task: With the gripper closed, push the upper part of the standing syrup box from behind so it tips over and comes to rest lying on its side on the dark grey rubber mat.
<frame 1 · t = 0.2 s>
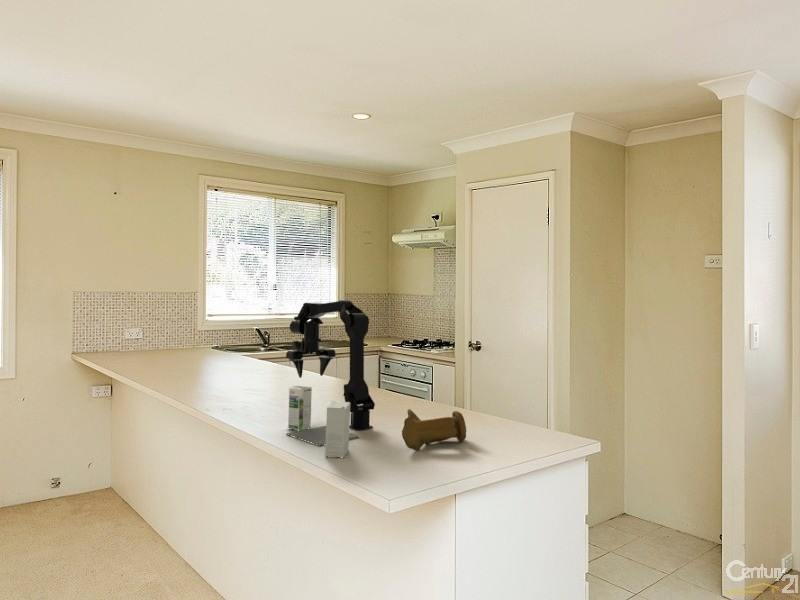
hand: (310, 376, 224), 14 cm above the counter, tool pointing down, fingers open, 9 cm apart
skincare box: (337, 455, 172), on the counter
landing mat: (322, 436, 192), on the counter
brown flanged cylinder: (431, 446, 185), on the counter
syrup box: (299, 429, 201), on the counter
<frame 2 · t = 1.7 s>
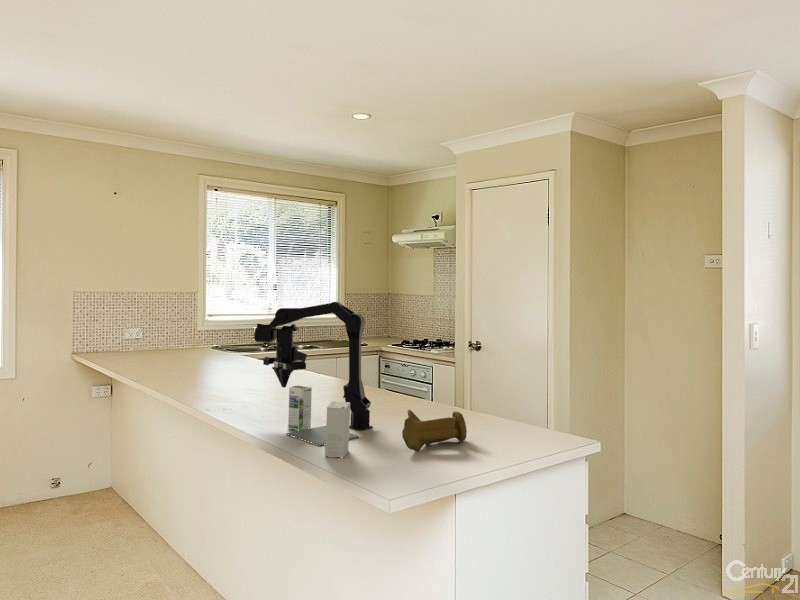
hand: (283, 387, 208), 13 cm above the counter, tool pointing down, fingers closed
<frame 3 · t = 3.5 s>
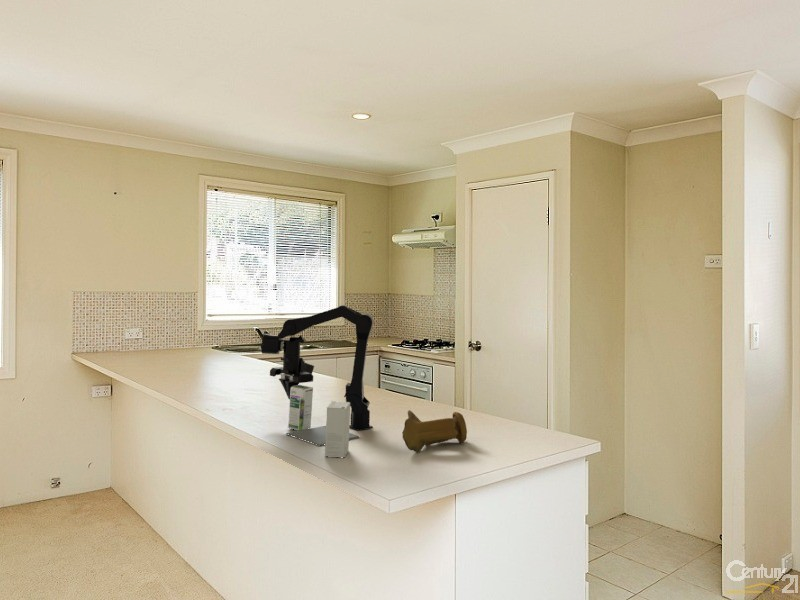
hand: (290, 399, 205), 9 cm above the counter, tool pointing down, fingers closed
syrup box: (299, 428, 201), on the counter, touching gripper
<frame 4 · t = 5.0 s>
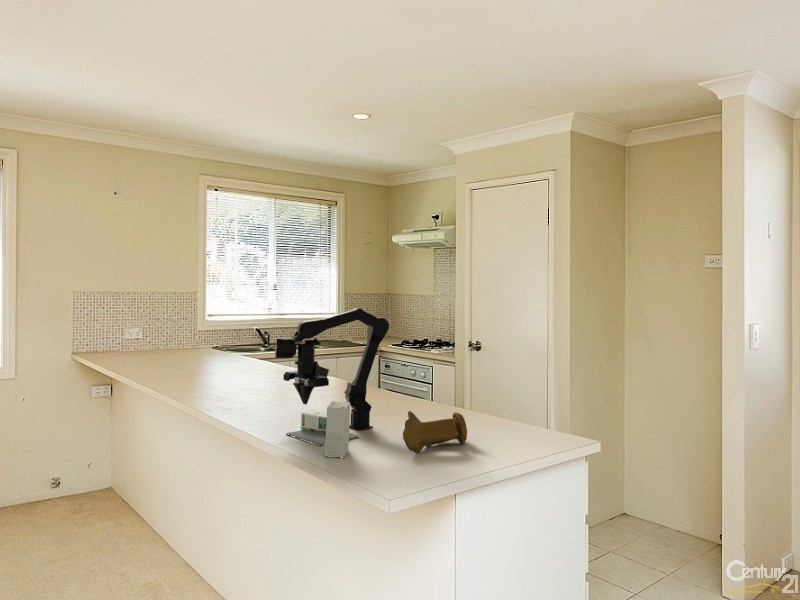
hand: (305, 404, 199), 9 cm above the counter, tool pointing down, fingers closed
syrup box: (305, 419, 201), point 3 cm above the counter, touching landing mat
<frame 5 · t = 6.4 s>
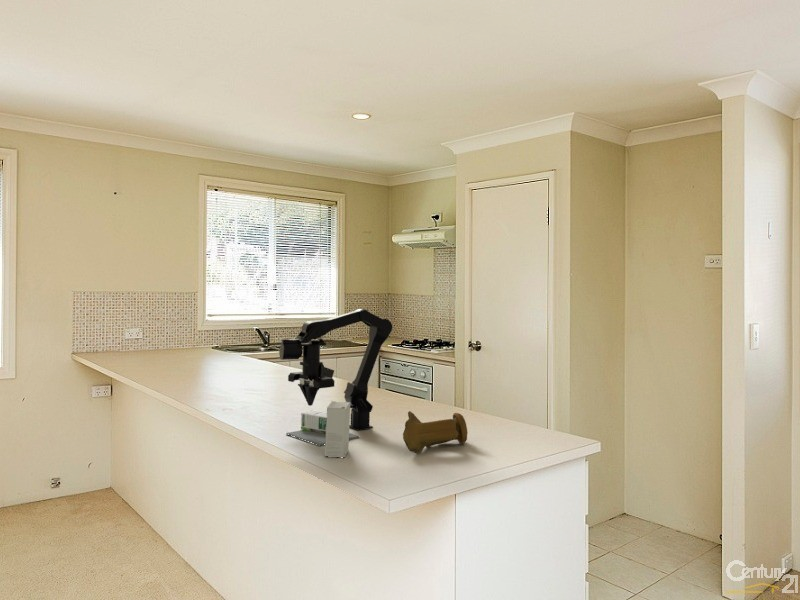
hand: (310, 405, 197), 9 cm above the counter, tool pointing down, fingers closed
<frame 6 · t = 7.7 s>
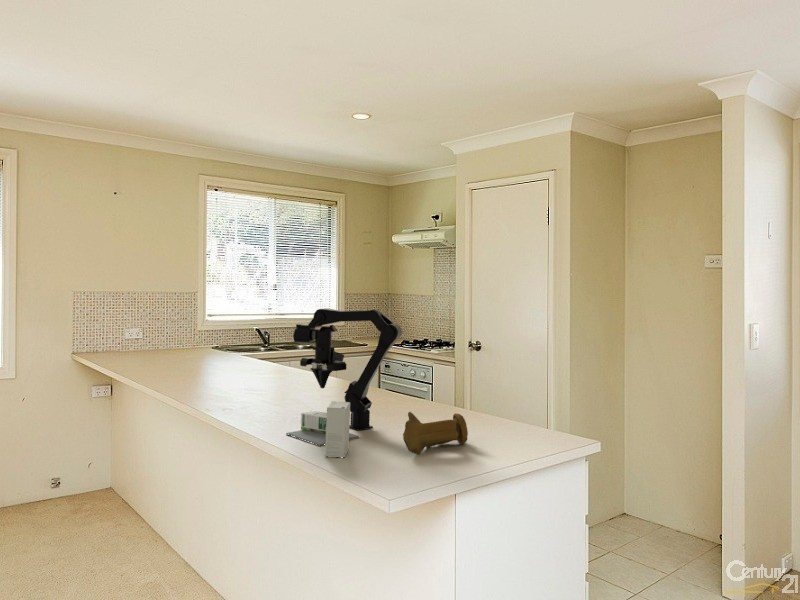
hand: (322, 388, 208), 13 cm above the counter, tool pointing down, fingers closed
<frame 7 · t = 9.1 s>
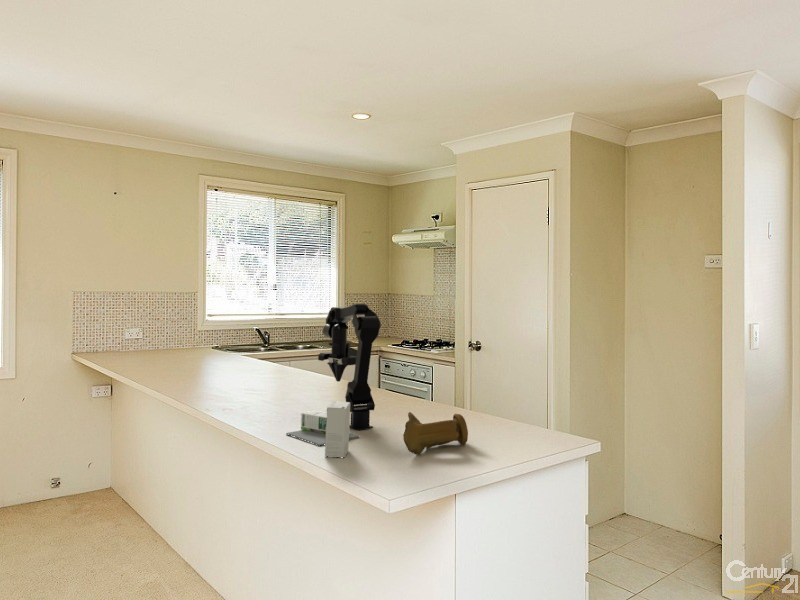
hand: (338, 381, 223), 13 cm above the counter, tool pointing down, fingers closed
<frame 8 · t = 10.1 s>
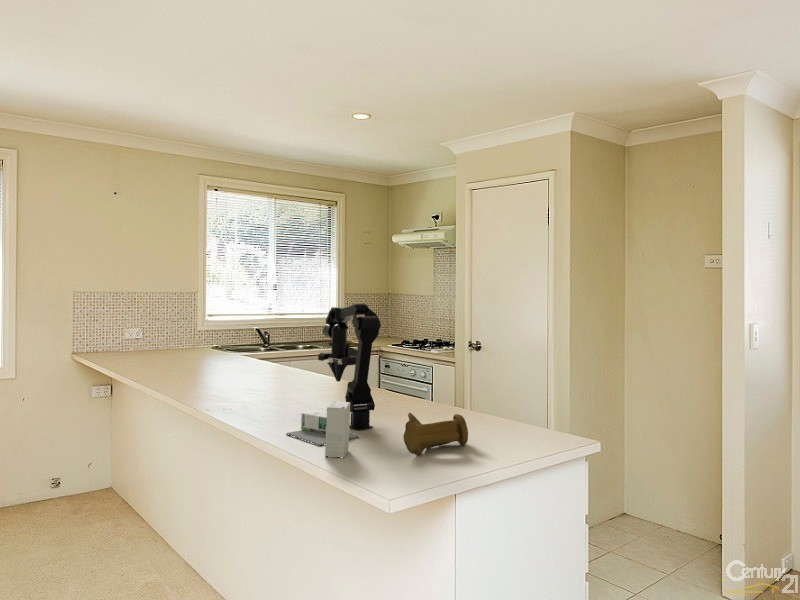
hand: (338, 381, 223), 13 cm above the counter, tool pointing down, fingers closed
at the end: syrup box tilted 90°; syrup box touching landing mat; syrup box inside the target area (1.7 cm from its centre), point 3.5 cm above the counter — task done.
